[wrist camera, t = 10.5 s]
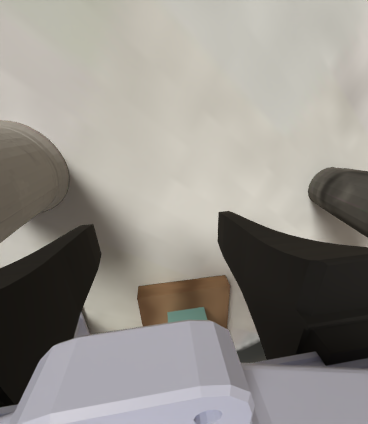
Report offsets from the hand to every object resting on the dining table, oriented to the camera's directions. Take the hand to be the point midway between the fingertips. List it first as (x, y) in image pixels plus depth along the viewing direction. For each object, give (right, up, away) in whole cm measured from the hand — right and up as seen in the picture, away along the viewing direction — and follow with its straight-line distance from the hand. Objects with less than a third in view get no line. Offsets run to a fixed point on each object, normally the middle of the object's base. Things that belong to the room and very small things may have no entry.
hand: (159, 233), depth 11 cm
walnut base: (+2, -14, +18) cm, 23 cm away
